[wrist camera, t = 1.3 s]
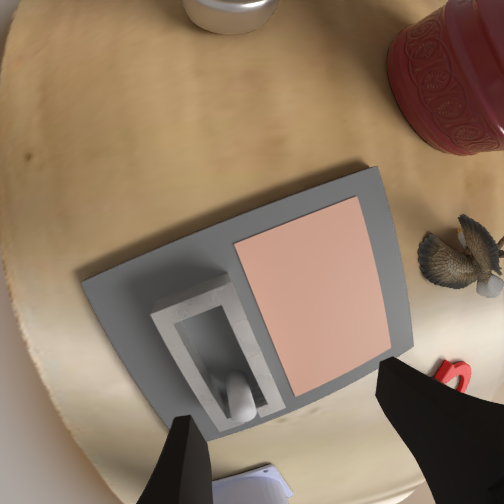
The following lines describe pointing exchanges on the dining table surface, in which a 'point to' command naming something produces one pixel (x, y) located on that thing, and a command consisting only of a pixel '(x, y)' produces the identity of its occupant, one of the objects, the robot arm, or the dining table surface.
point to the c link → (189, 360)
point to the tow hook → (454, 374)
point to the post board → (269, 301)
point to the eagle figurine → (464, 260)
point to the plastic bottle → (229, 14)
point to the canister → (453, 76)
